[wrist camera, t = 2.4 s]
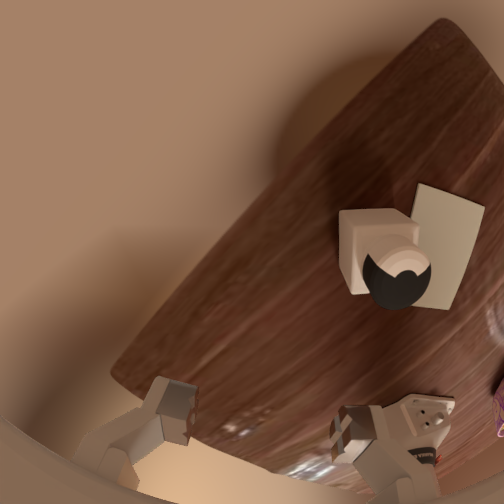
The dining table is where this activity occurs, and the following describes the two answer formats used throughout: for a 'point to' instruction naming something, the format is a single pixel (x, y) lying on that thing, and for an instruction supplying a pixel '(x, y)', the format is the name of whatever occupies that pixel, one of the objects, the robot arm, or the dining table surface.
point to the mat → (444, 241)
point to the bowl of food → (499, 409)
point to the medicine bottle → (383, 256)
